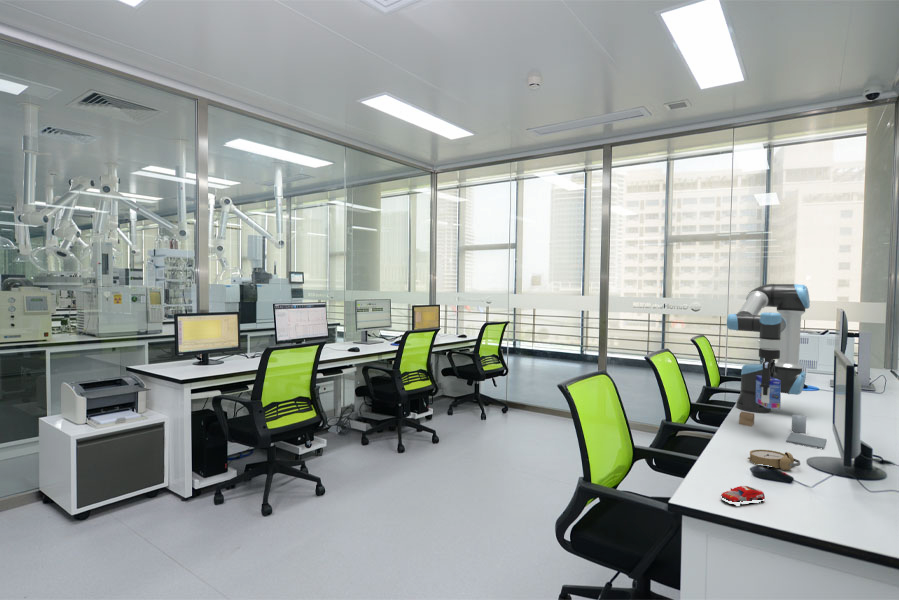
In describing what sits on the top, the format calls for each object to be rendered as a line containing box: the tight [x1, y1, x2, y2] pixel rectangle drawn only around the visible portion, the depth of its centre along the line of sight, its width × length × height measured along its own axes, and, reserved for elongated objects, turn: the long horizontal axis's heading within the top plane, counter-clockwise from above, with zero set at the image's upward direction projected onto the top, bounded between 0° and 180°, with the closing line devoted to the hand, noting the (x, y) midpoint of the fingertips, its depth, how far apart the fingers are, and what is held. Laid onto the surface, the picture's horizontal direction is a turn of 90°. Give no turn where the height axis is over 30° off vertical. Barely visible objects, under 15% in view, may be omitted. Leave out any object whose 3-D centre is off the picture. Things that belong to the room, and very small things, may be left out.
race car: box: [720, 485, 766, 502], centre depth 140 cm, size 13×5×4 cm, turn 105°
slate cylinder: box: [791, 414, 807, 434], centre depth 208 cm, size 5×5×7 cm
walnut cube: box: [738, 411, 755, 427], centre depth 218 cm, size 5×5×5 cm
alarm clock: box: [747, 449, 801, 472], centre depth 169 cm, size 11×5×15 cm
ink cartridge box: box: [756, 375, 782, 410], centre depth 204 cm, size 10×6×14 cm, turn 174°
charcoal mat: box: [785, 432, 827, 450], centre depth 195 cm, size 14×12×1 cm
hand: (767, 400), depth 204 cm, fingers closed on ink cartridge box, 10 cm apart
